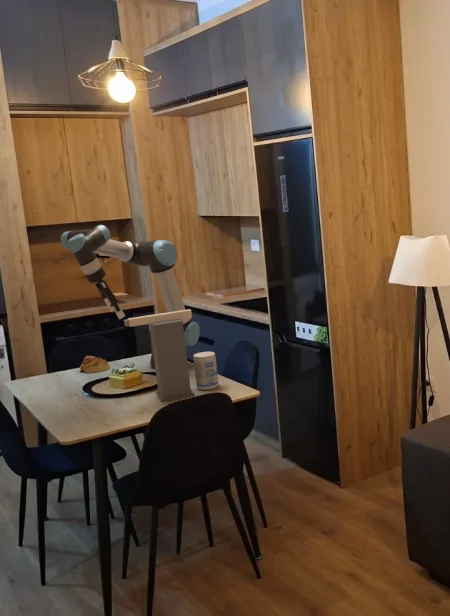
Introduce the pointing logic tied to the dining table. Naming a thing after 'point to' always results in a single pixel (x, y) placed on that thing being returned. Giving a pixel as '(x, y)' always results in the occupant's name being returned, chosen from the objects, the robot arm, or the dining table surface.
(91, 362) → the pastry
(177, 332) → the stand
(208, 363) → the supplement tub
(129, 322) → the beige square bar
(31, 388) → the dining table surface
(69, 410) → the dining table surface
